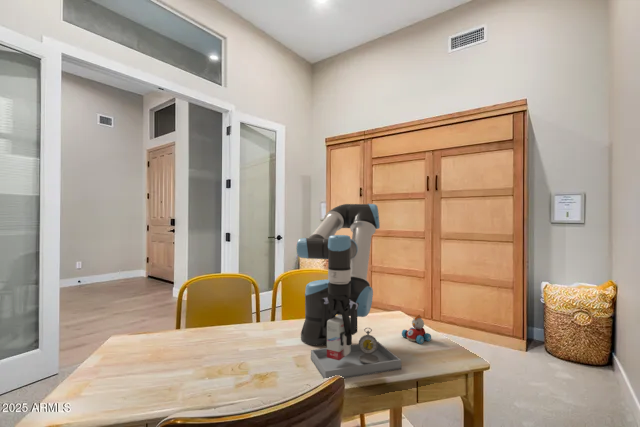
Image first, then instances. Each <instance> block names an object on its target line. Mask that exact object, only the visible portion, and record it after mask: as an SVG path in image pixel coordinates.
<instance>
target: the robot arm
mask: <svg viewBox="0 0 640 427" xmlns="http://www.w3.org/2000/svg"><path fill="white" fill-rule="evenodd" d="M379 213H380V212H379V208H378V205H377V204H375V203H343V204H340V205H337V206H336V207H334V208H331V209H329V211H328V212H326V214H325V215H324V217H323V221H321V223H320V224H319V225H318V227H316V229H315V230H314V231H313V233H312V234H310V236H309V237H302V238H299V239H298V240H297V244H296V254H297V256H298V258H301V259H308V260H310V259H311V260H317V259H318V260H327V262H328V263H327V264H328V265H327V279H319V280H313V281H309V283H307V284H305V285H306V286H305V292H304V298H305V301H304V302H305V303H304V312H305V314H304V315H305V317H304V322H303V325H302V327H301V328H302V329H301V332H300V340H301V342H303V343H305V344H307V345H310V346H327V321H328V320H329V319H332V318H334V317H335V316H337V315H342V319H343V322H344V328H345V333H346V334H345V335H344V353H343V356H346V355H348V354H349V350H350V345H352V342H353V340H352V339H353V337H352V336H355V335H356V334H357V333H358V318H365V317H367V316H368V315H369V314H370V311H371V308H372V306H373V296H374V289H373V287H372V286H370V285H371V283H370V282H369V280H368V270H369V263H370V262H369V260H370V254H371V253H370V252H371V244H372V236H374V234H376V230H378V229H380V228H381V227H380V223H381V222H380V215H379ZM341 229H350V231H351V233H352V236H350V235H347V234H346V235H345V234H336V233H337V231H340V230H341ZM349 317H351V323H350V318H349Z"/></svg>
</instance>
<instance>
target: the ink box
mask: <svg viewBox="0 0 640 427" xmlns="http://www.w3.org/2000/svg"><path fill="white" fill-rule="evenodd" d="M349 318H350V323H351V316H349ZM345 334H346V333H345V328H344V322H343V319H342V315H336V316H335V317H334V318H332V319H329V320H328V321H327V345H326V348H327V358H331V359H335V360H341V359H342V358H343V357H344V356H343V353H344V335H345ZM351 345H352V344H351ZM351 345H350V350H349V353H350V352H351Z"/></svg>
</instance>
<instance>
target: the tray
mask: <svg viewBox="0 0 640 427" xmlns="http://www.w3.org/2000/svg"><path fill="white" fill-rule="evenodd" d="M370 343H373V342H370ZM377 343H378V347H377V350H376V351H375V352H374V353H372V354H371V355H375V356H377V357H378V358H379V362H378V363H371V364H364V363H362V362H360V360H359V357H360V356H361V355H364V353H363V352H361V350H360V349H359V345H358V343H355V344H351V352H350V353H349V354H348V355H346V356H344V357H343V358H342V359H341V360H335V359H331V358H327V347H324V348H318V349H310V360H311V361H312V363H313V364H314V366H315V367H316V369H317V371H318V372H319V374H320V375H321V377H322V379H324V378H329V377H332V376H335V375H340V376H342V377H344V379H348V378H354V377H355V378H356V377H361V376H368V375H374V374H379V373H386V372H392V371H396V370H397V371H398V370H402V359H401V358H400V357H398V356H397V355H396V354H394V353H393V352H392V351H391V350H389V349H388V348H386V346H384V345H383V344H382V343H380V342H379V341H377ZM363 346H364V345H363ZM372 347H373V345H372ZM364 348H366V349H368V348H367V347H364Z"/></svg>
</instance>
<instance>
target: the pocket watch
mask: <svg viewBox="0 0 640 427" xmlns="http://www.w3.org/2000/svg"><path fill="white" fill-rule="evenodd" d="M366 329H367V330H366ZM368 329H369V330H370V331H369V330H368ZM363 330H364V332H365V333H366V334H365V335H362V336H361V337H360V338H359V340H358V342H357V344H358V345H359V349H360V350H361V352H363V353H364V355H361V356H360V357H359V360H360V362H362V363H364V364H371V363H378V362H379V358H378V357H377V356H375V355H371V354H372V353H374V352H375V351H376V350H377V347H378V343H377V339H376V337H374V336H373V335H370V333H371V332H372V331H373V329H372V328H371V327H365V328H364V329H363ZM370 342H373V343H370ZM363 345H364V346H363ZM372 345H373V347H372ZM364 347H367V348H368V349H366V348H364Z"/></svg>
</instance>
